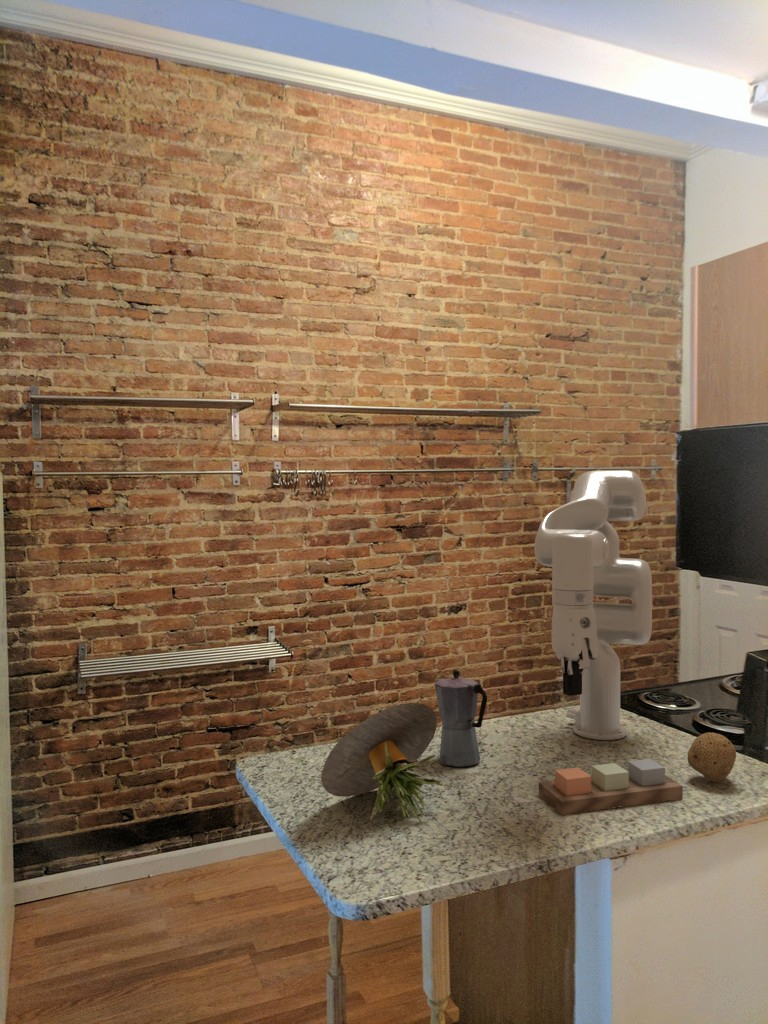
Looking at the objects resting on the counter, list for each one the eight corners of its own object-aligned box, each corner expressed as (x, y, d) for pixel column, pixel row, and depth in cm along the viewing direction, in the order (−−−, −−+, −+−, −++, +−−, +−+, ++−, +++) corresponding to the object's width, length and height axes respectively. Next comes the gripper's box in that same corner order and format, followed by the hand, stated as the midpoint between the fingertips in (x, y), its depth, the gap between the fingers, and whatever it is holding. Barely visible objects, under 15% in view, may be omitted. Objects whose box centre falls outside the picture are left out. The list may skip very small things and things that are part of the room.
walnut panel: (561, 814, 145) (561, 801, 145) (538, 794, 154) (538, 782, 154) (682, 798, 152) (682, 785, 152) (653, 780, 161) (653, 768, 161)
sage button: (605, 795, 150) (605, 774, 150) (591, 785, 155) (591, 765, 155) (628, 792, 151) (628, 772, 151) (614, 782, 156) (614, 763, 156)
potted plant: (322, 870, 140) (382, 795, 127) (294, 781, 151) (347, 704, 138) (433, 849, 154) (498, 780, 141) (400, 769, 165) (457, 698, 152)
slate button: (642, 790, 152) (642, 770, 152) (627, 781, 157) (627, 761, 157) (664, 787, 153) (665, 767, 153) (649, 778, 158) (649, 758, 158)
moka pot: (449, 747, 182) (448, 661, 181) (503, 764, 171) (502, 673, 170) (421, 758, 175) (420, 669, 174) (475, 776, 164) (474, 681, 163)
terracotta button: (567, 800, 148) (567, 779, 148) (554, 790, 153) (554, 770, 152) (591, 797, 149) (591, 776, 149) (578, 787, 154) (578, 767, 154)
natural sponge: (687, 786, 157) (688, 737, 157) (686, 770, 166) (687, 724, 165) (737, 792, 154) (737, 742, 154) (734, 776, 163) (734, 728, 162)
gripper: (611, 602, 143) (611, 703, 143) (571, 592, 157) (571, 683, 158) (574, 604, 141) (573, 706, 142) (536, 593, 155) (536, 686, 156)
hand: (572, 693), depth 150 cm, fingers closed
